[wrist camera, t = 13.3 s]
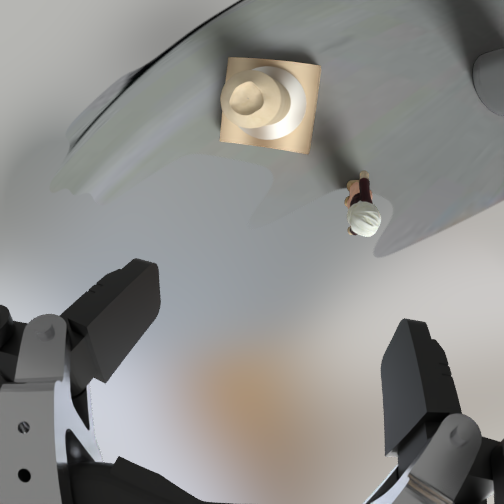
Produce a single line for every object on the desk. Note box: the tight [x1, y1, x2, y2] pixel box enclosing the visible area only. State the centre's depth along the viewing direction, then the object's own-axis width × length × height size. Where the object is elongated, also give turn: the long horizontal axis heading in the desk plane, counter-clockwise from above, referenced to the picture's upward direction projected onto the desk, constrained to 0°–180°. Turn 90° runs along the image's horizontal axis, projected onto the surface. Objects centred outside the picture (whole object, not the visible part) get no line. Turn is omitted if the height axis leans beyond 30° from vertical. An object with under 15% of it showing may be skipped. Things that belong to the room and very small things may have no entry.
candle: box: [220, 70, 291, 128], centre depth 27 cm, size 6×6×10 cm
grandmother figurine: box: [345, 171, 381, 237], centre depth 32 cm, size 8×4×13 cm, turn 6°
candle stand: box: [220, 57, 321, 154], centre depth 34 cm, size 11×11×4 cm
